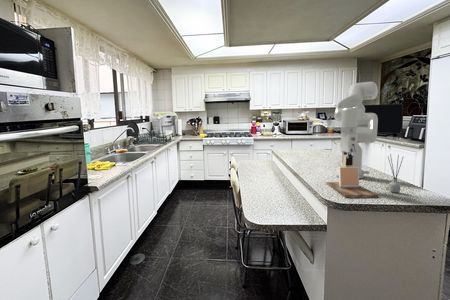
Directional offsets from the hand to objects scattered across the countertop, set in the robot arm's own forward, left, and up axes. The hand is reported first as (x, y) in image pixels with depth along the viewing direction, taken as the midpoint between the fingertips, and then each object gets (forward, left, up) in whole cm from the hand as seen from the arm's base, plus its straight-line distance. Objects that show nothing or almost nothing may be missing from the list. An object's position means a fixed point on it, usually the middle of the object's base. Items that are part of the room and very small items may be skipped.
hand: (347, 164), depth 127 cm
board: (0, +3, -14) cm, 14 cm away
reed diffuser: (-20, +7, -14) cm, 25 cm away
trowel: (0, -1, -8) cm, 8 cm away
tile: (0, +3, -12) cm, 12 cm away
